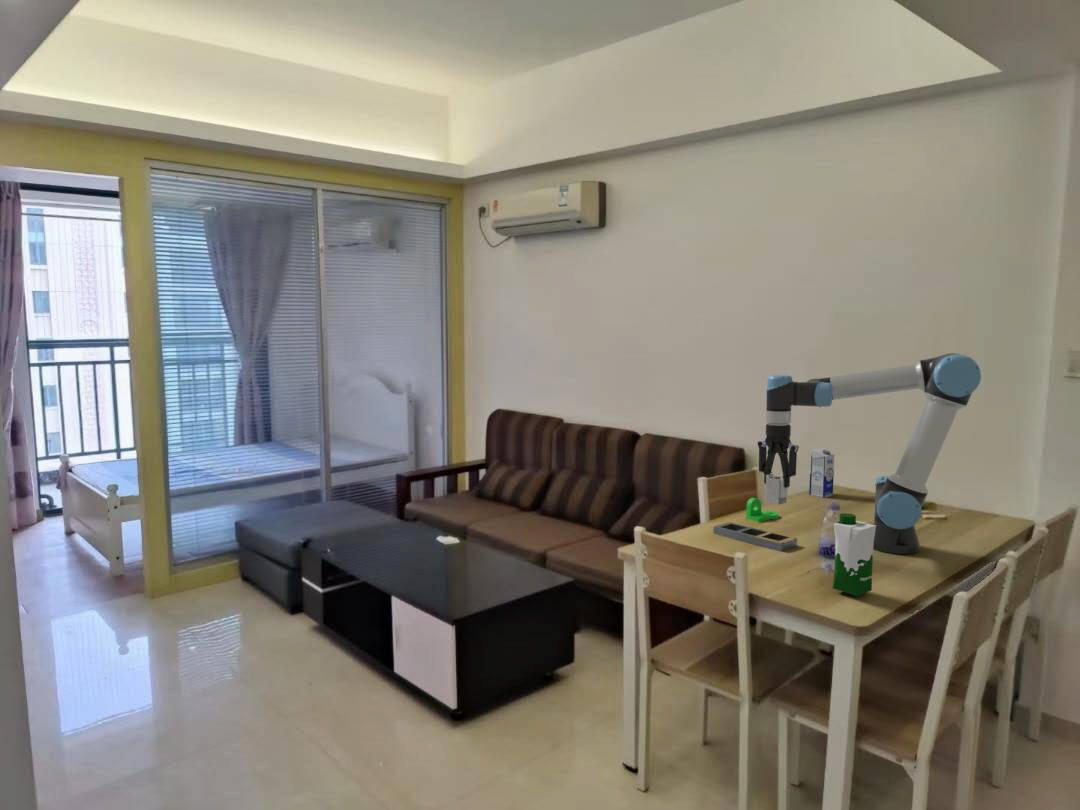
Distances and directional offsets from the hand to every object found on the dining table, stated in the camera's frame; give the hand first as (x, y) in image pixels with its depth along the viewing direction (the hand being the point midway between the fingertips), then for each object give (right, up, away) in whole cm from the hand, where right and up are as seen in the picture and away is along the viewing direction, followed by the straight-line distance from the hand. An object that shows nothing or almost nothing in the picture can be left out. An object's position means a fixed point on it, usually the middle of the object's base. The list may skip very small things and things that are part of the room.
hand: (776, 495), depth 235 cm
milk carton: (+40, -9, +67) cm, 79 cm away
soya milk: (+8, -21, -39) cm, 44 cm away
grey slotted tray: (-5, -16, +8) cm, 18 cm away
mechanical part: (+6, -13, +34) cm, 37 cm away
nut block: (0, -2, 0) cm, 2 cm away
